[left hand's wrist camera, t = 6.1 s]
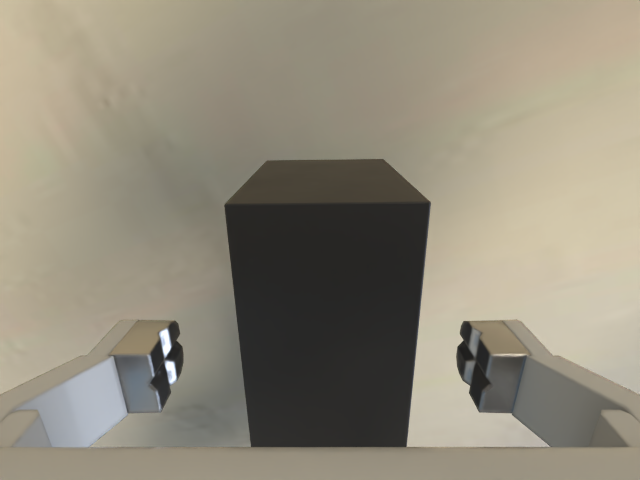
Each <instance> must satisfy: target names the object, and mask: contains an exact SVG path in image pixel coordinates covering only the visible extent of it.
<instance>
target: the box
mask: <svg viewBox="0 0 640 480" xmlns="http://www.w3.org/2000/svg"><path fill="white" fill-rule="evenodd" d="M430 206H431V203H430V201H429V200H428V199H427V198H425V197H424V196H423V195H422V194H421V193H420V192H419V191H418V190H417V189H416V188H414V187H413V186H412V185H411V184H410V183H409V182H408V181H407V180H406V179H404V178H403V177H402V176H401V175H400V174H399V173H398V172H397V171H396V170H395V169H393V168H392V167H391V166H390V165H389V164H388V163H387V162H386V161H385V160H383V159H361V160H279V161H266V162H265V163H264V164H263V165H262V166H261V167H260V169H259V170H258V171H257V172H256V173H255V174H254V175H253V176H252V177H251V178H250V179H249V180H248V181H247V182H246V183H245V184H244V185H243V186H242V187H241V188H240V189H239V190H238V191H237V192H236V193H235V194H234V195H233V196H232V197H231V198H230V199H229V200H228V202H227V203H226V204H225V215H226V224H227V233H228V242H229V251H230V260H231V269H232V278H233V287H234V296H235V305H236V314H237V323H238V332H239V341H240V350H241V359H242V368H243V377H244V386H245V395H246V404H247V414H248V423H249V432H250V441H251V447H407V437H408V427H409V417H410V407H411V397H412V387H413V377H414V367H415V357H416V346H417V336H418V326H419V316H420V306H421V296H422V286H423V276H424V266H425V256H426V246H427V236H428V226H429V216H430Z"/></svg>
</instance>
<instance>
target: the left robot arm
mask: <svg viewBox="0 0 640 480" xmlns="http://www.w3.org/2000/svg"><path fill="white" fill-rule="evenodd" d="M179 335H180V330H179V326H178V323H177V322H176V321H169V320H122V321H119V322H118V323H117V324H116V325H115V326H114V327H113V328H112V329H111V330H110V331H109V332H108V334H107V335H106V336H105V337H104V338H103V339H102V340H101V341H100V342H99V343H98V344H97V345H96V346H95V348H94V349H93V350H92V351H91V352H90V353H89V354H88V355H87V356H79V357H77V358H75V359H73V360H71V361H69V362H67V363H65V364H63V365H61V366H59V367H57V368H55V369H53V370H50V371H48V372H46V373H44V374H42V375H40V376H38V377H36V378H34V379H32V380H30V381H28V382H26V383H23V384H21V385H19V386H17V387H15V388H13V389H11V390H9V391H7V392H5V393H3V394H1V395H0V480H640V395H639V394H637V393H635V392H633V391H631V390H629V389H627V388H625V387H623V386H620V385H618V384H616V383H614V382H612V381H610V380H608V379H606V378H604V377H602V376H600V375H598V374H596V373H594V372H592V371H589V370H587V369H585V368H583V367H581V366H579V365H577V364H575V363H573V362H571V361H569V360H567V359H565V358H563V357H561V356H553V355H552V354H551V353H550V352H549V351H548V350H547V349H546V348H545V346H544V345H543V344H542V343H541V342H540V341H539V340H538V339H537V338H536V337H535V336H534V335H533V334H532V332H531V331H530V330H529V329H528V328H527V327H526V326H525V325H524V324H523V323H522V322H521V321H519V320H497V321H463V323H462V325H461V330H460V335H461V336H462V338H463V340H464V341H463V342H462V343H461V344H460V345H459V346H458V348H457V356H456V358H457V367H458V371H459V374H460V376H461V378H462V380H463V381H464V382H466V383H467V384H468V385H470V390H469V394H470V396H471V397H472V399H473V401H474V403H475V405H476V407H477V409H478V411H479V412H486V413H512V415H513V416H514V417H515V418H517V419H518V420H519V421H520V422H521V423H523V424H524V425H525V426H526V427H527V428H529V429H530V430H531V431H532V432H534V433H535V434H536V435H537V436H538V437H540V438H541V439H542V440H543V441H544V442H546V443H547V444H548V445H549V446H551V447H90V446H91V445H92V444H93V443H94V442H96V441H97V440H98V439H99V438H100V437H102V436H103V435H104V434H105V433H107V432H108V431H109V430H110V429H111V428H113V427H114V426H115V425H116V424H118V423H119V422H120V421H121V420H122V419H124V418H125V417H126V416H127V415H128V413H153V412H161V411H162V409H163V407H164V405H165V403H166V401H167V399H168V397H169V396H170V394H171V390H170V385H172V384H173V383H174V382H176V381H177V380H178V378H179V376H180V374H181V371H182V366H183V348H182V346H181V345H180V344H179V343H178V342H177V341H176V340H177V338H178V336H179Z"/></svg>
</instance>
